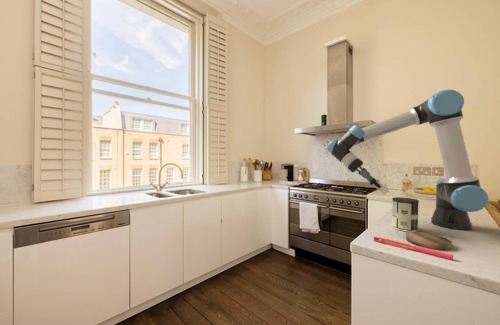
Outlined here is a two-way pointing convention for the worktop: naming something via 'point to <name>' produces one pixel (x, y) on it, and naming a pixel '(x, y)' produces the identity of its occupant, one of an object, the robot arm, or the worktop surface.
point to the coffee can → (405, 214)
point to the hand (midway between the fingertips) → (386, 193)
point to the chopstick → (415, 248)
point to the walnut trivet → (429, 240)
